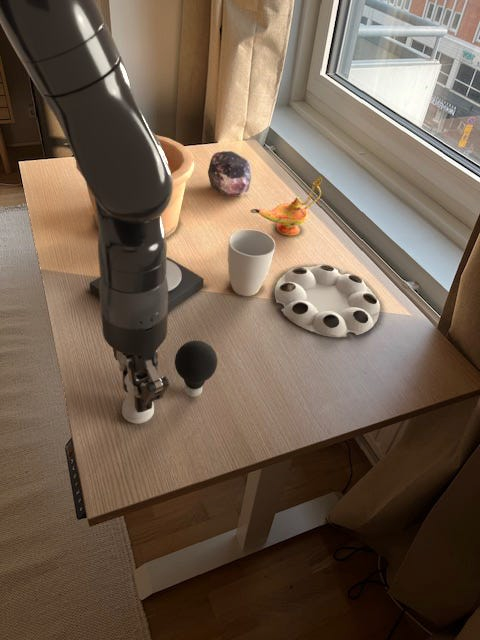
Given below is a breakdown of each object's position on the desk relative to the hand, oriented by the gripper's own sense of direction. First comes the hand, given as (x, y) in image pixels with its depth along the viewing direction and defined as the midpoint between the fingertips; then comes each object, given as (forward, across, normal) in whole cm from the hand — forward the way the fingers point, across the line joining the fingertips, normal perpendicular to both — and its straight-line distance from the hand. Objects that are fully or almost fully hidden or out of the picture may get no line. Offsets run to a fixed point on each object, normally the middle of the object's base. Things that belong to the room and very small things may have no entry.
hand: (137, 398), depth 70 cm
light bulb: (+3, +1, +8) cm, 9 cm away
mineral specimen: (+3, -48, +44) cm, 65 cm away
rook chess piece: (+3, 0, 0) cm, 3 cm away
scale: (+3, -24, +13) cm, 27 cm away
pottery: (+3, -44, +20) cm, 49 cm away
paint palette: (+3, -7, +41) cm, 42 cm away
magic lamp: (+3, -30, +47) cm, 55 cm away
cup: (+3, -17, +29) cm, 34 cm away
